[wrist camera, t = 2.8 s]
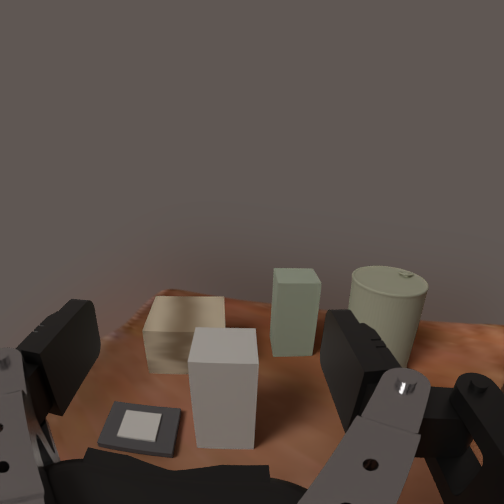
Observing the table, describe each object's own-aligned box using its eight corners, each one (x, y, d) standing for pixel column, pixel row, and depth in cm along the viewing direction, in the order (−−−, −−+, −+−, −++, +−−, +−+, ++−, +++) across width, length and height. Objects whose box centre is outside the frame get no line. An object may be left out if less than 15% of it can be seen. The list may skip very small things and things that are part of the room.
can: (419, 368, 36) (444, 281, 32) (371, 395, 32) (397, 298, 28) (372, 337, 43) (387, 258, 40) (323, 356, 39) (335, 267, 36)
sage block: (305, 335, 44) (312, 268, 41) (312, 355, 40) (321, 283, 37) (269, 335, 44) (273, 268, 41) (273, 356, 39) (278, 283, 36)
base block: (224, 335, 44) (223, 296, 42) (226, 375, 36) (225, 332, 34) (160, 334, 43) (156, 296, 42) (149, 374, 35) (142, 330, 33)
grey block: (251, 412, 30) (255, 328, 27) (253, 449, 25) (258, 363, 22) (201, 410, 30) (195, 326, 27) (197, 447, 25) (187, 361, 22)
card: (181, 412, 29) (180, 407, 29) (172, 457, 23) (171, 452, 23) (115, 405, 29) (114, 399, 28) (98, 446, 23) (96, 441, 23)
